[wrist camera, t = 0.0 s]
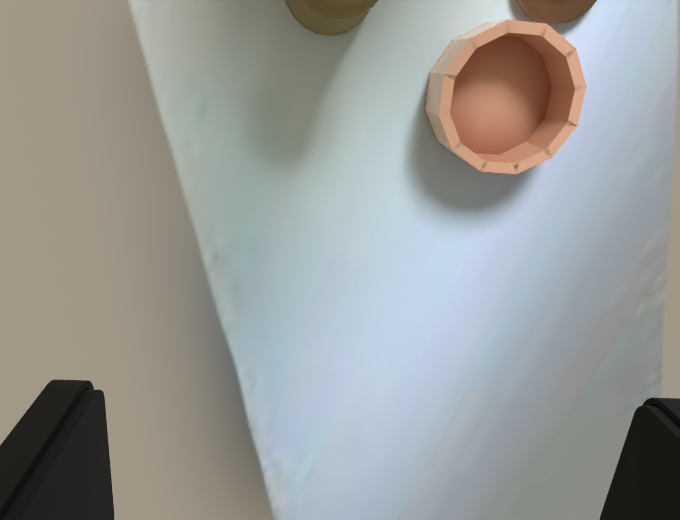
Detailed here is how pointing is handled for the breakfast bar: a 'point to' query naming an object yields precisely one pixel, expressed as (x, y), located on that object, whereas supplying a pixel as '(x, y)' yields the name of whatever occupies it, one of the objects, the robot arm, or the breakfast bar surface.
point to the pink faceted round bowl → (506, 95)
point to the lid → (555, 9)
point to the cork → (329, 14)
